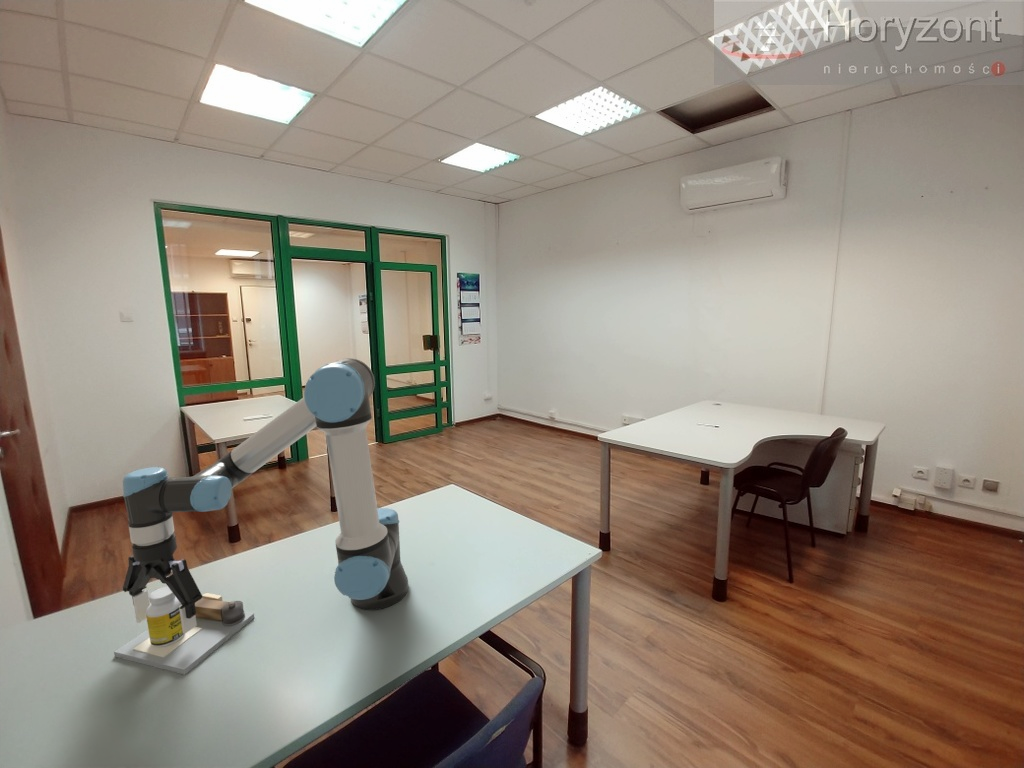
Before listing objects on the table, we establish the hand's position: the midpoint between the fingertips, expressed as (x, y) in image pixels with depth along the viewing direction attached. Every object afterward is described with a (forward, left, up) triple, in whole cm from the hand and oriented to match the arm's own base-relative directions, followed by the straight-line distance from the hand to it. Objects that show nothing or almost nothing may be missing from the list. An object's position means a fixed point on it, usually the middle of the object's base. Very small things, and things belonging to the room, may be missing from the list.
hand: (166, 624), depth 100 cm
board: (-2, -3, -5) cm, 6 cm away
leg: (-2, -8, -3) cm, 9 cm away
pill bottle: (0, 0, -4) cm, 4 cm away
